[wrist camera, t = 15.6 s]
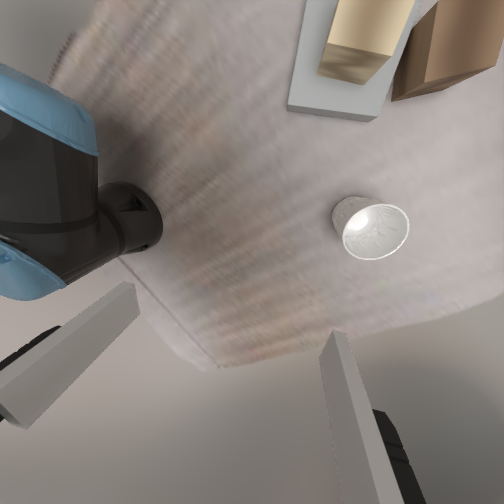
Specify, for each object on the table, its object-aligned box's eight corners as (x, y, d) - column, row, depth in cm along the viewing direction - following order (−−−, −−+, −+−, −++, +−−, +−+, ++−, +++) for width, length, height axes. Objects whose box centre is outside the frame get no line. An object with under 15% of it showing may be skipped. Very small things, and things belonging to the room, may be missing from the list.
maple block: (316, 75, 23) (327, 42, 17) (336, 4, 20) (358, -65, 14) (363, 85, 23) (391, 56, 17) (390, 15, 20) (436, -51, 14)
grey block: (287, 111, 28) (287, 104, 25) (309, -6, 23) (313, -36, 19) (366, 122, 27) (378, 116, 24) (409, 2, 22) (433, -29, 18)
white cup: (346, 184, 31) (369, 192, 22) (386, 204, 31) (425, 221, 22) (319, 224, 35) (330, 245, 26) (355, 242, 35) (379, 269, 26)
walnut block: (391, 102, 26) (424, 82, 19) (397, 44, 23) (438, 0, 17) (442, 90, 24) (495, 65, 18) (455, 27, 22) (521, -27, 16)
